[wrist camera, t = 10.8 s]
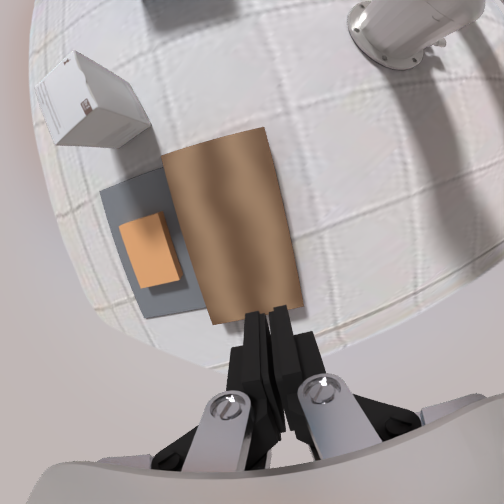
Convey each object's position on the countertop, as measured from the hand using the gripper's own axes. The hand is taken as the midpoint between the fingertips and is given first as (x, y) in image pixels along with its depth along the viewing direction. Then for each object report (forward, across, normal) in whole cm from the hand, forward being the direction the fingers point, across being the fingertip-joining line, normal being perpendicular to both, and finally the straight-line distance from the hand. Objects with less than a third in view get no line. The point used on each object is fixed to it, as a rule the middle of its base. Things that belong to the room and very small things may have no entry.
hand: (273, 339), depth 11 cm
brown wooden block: (+25, +3, 0) cm, 25 cm away
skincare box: (+25, +14, -19) cm, 35 cm away
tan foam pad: (+23, +15, 0) cm, 27 cm away
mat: (+25, +15, 0) cm, 29 cm away
